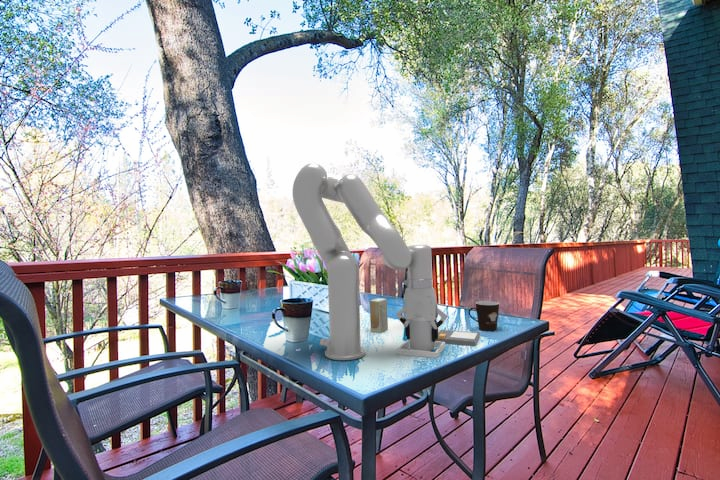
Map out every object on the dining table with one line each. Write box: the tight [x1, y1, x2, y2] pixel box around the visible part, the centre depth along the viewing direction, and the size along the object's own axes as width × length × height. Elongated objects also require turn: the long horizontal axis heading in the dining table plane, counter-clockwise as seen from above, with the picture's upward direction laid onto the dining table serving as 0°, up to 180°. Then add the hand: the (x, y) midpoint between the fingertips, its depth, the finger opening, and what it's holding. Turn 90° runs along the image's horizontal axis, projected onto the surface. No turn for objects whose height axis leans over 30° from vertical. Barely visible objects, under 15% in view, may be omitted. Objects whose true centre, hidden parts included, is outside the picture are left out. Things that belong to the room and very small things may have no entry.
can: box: [409, 315, 435, 352], centre depth 118 cm, size 8×8×12 cm
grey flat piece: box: [436, 329, 481, 347], centre depth 131 cm, size 22×12×2 cm, turn 65°
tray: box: [396, 339, 446, 359], centre depth 118 cm, size 12×12×2 cm
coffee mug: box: [468, 300, 500, 332], centre depth 143 cm, size 12×9×10 cm
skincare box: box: [369, 297, 389, 334], centre depth 144 cm, size 6×4×12 cm
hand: (421, 339), depth 118 cm, fingers closed on can, 7 cm apart
